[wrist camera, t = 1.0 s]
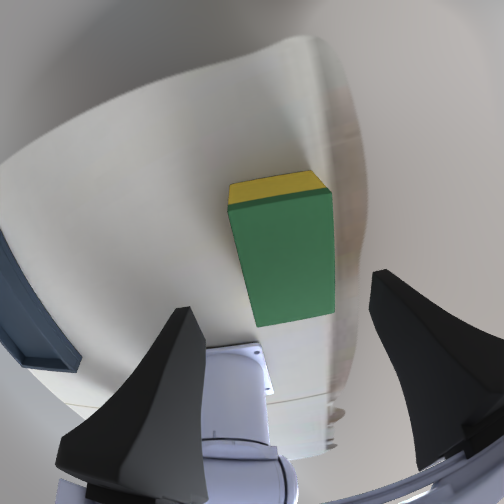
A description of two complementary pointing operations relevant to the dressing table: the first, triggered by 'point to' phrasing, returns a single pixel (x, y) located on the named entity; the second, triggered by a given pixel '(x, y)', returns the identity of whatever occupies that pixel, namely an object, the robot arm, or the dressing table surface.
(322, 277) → the sponge
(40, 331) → the tray
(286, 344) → the dressing table surface
